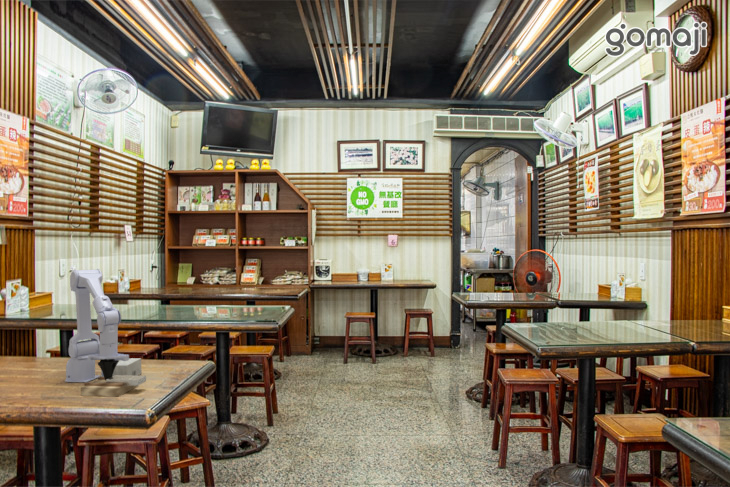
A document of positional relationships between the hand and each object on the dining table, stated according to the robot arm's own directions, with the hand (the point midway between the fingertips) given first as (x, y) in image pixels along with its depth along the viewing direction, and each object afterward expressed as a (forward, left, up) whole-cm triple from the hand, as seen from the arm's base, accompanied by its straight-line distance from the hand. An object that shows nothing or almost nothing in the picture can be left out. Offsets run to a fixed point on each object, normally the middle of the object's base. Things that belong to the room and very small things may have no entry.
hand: (108, 379), depth 160 cm
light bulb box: (0, +16, -1) cm, 16 cm away
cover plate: (+7, 0, -1) cm, 7 cm away
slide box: (+1, 0, -4) cm, 4 cm away
